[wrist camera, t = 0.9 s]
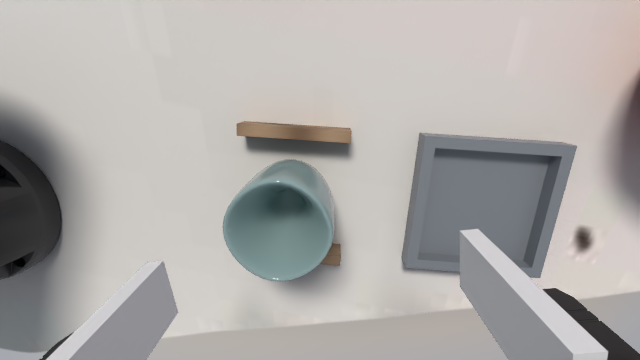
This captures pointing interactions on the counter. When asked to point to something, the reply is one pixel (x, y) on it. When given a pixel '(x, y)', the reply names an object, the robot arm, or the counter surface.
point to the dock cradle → (484, 198)
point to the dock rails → (300, 134)
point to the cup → (281, 221)
